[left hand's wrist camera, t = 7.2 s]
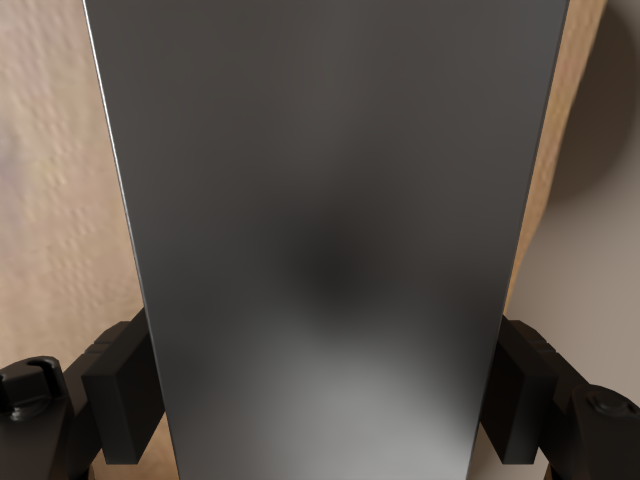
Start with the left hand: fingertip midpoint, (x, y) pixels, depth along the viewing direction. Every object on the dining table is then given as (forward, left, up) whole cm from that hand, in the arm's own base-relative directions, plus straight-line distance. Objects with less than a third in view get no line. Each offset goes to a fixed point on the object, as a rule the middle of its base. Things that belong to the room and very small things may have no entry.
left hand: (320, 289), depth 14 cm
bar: (+11, +3, -1) cm, 12 cm away
